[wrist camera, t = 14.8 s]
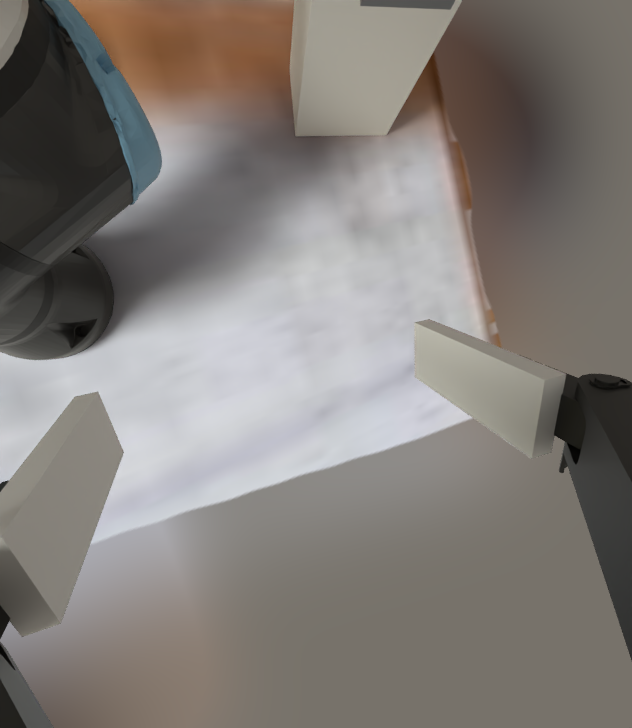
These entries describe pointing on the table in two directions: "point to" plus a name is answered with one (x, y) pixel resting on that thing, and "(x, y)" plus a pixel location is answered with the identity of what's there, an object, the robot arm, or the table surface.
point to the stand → (358, 63)
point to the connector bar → (410, 3)
